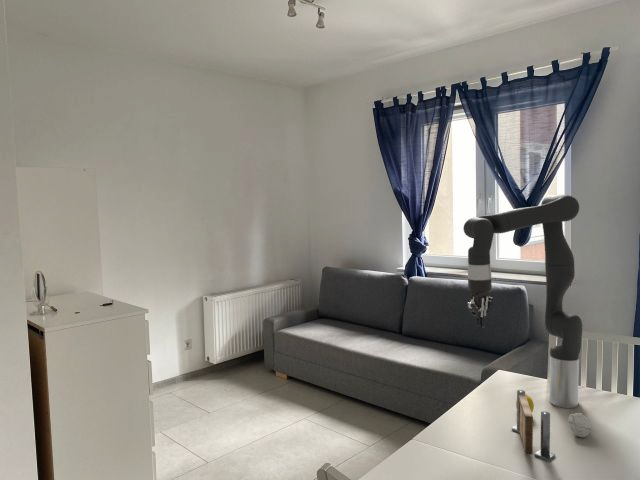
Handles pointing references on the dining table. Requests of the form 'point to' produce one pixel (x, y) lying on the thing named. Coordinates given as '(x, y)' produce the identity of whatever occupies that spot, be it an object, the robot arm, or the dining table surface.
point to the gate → (525, 424)
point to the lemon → (529, 403)
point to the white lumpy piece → (580, 424)
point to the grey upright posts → (545, 432)
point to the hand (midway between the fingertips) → (480, 327)
